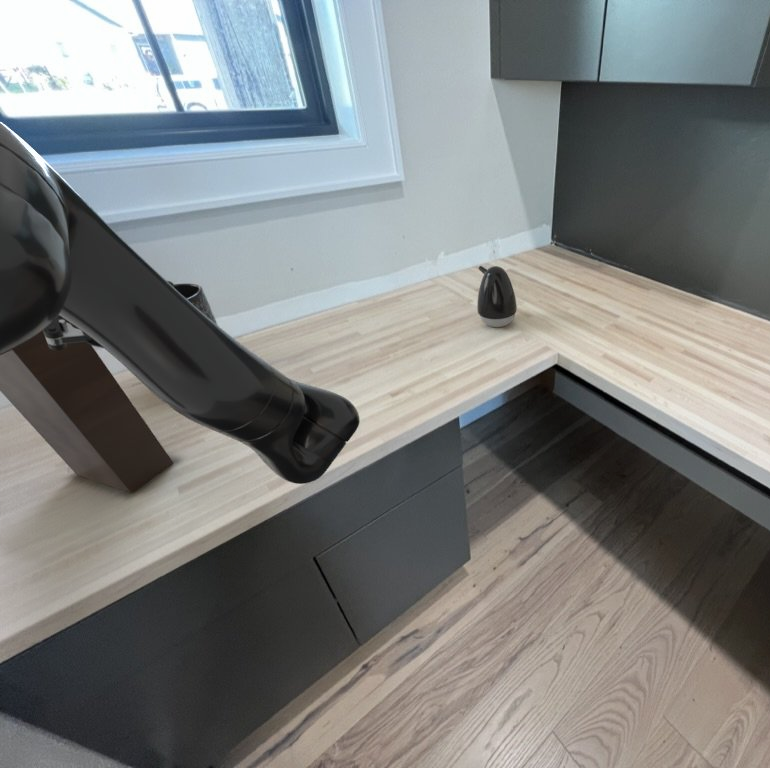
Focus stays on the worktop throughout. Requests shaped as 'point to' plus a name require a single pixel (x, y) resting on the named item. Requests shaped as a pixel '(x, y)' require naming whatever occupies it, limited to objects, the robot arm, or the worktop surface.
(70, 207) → the robot arm
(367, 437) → the worktop surface
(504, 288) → the pump dispenser
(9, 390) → the stand
